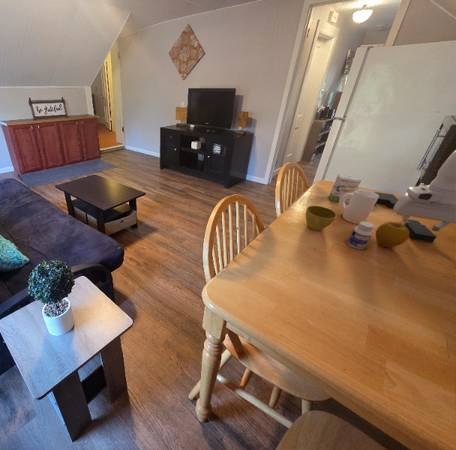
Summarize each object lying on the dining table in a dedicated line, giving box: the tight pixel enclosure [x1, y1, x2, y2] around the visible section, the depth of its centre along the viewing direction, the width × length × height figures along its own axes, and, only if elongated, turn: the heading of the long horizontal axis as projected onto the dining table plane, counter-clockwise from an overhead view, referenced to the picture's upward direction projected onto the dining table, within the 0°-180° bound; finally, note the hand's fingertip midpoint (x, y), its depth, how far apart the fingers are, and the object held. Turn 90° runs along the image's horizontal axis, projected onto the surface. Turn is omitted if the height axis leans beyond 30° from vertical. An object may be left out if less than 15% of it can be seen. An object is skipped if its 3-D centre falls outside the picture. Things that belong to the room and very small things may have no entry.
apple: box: [375, 221, 410, 248], centre depth 86 cm, size 8×8×9 cm
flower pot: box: [305, 205, 338, 231], centre depth 96 cm, size 10×10×7 cm
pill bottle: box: [347, 221, 375, 250], centre depth 86 cm, size 5×5×9 cm
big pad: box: [373, 191, 399, 209], centre depth 118 cm, size 14×12×2 cm
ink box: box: [328, 173, 362, 204], centre depth 116 cm, size 8×5×12 cm, turn 66°
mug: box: [338, 188, 379, 225], centre depth 102 cm, size 8×12×12 cm
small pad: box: [405, 218, 437, 243], centre depth 95 cm, size 6×12×2 cm, turn 159°
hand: (419, 227), depth 93 cm, fingers open, 8 cm apart
